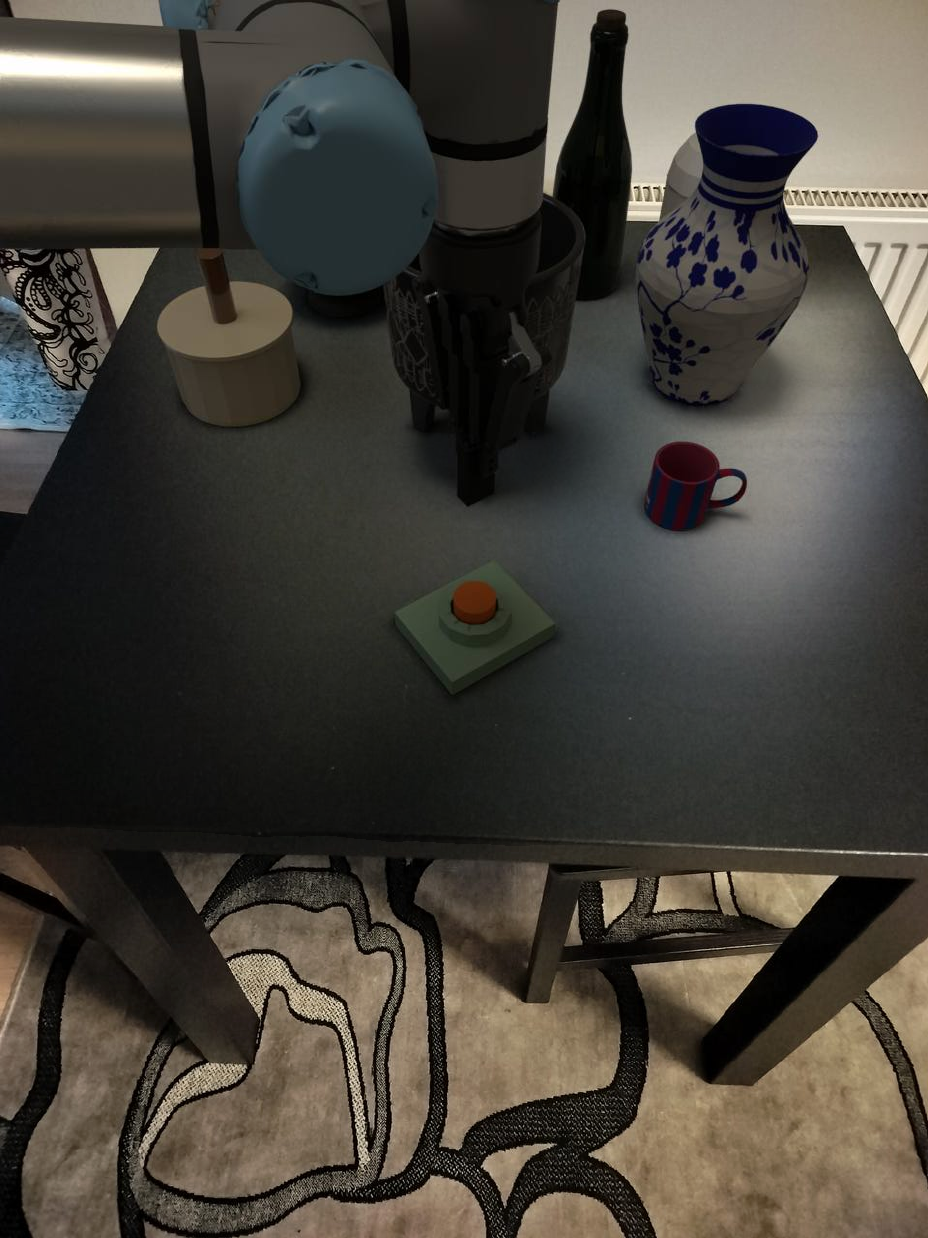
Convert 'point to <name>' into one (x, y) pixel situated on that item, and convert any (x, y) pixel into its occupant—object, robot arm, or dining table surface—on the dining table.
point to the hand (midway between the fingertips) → (475, 494)
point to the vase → (725, 257)
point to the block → (474, 629)
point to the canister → (239, 385)
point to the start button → (474, 602)
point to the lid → (224, 316)
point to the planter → (544, 303)
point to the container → (682, 175)
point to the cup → (686, 485)
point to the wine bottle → (599, 158)
